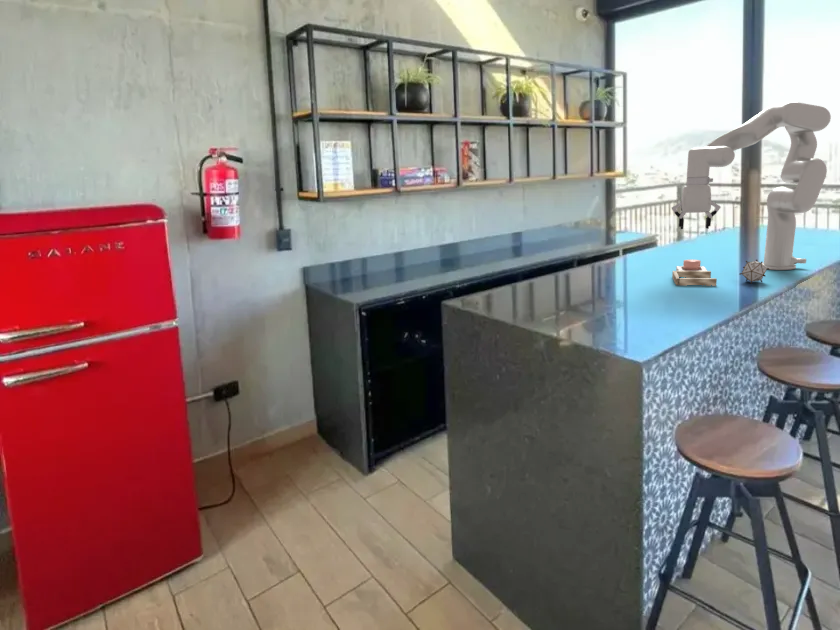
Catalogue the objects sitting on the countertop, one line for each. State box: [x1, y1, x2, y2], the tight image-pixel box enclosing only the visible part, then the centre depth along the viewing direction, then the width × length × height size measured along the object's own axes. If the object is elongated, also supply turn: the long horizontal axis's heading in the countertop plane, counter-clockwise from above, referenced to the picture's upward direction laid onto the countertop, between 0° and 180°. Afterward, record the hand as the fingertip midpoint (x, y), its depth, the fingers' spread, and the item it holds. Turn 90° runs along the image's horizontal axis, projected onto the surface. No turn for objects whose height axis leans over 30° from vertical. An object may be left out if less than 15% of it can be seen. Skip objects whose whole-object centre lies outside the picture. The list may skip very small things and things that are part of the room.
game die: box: [739, 259, 770, 284], centre depth 208 cm, size 9×8×10 cm
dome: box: [682, 259, 702, 270], centre depth 226 cm, size 6×6×3 cm
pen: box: [671, 270, 718, 287], centre depth 215 cm, size 13×15×2 cm
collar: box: [675, 265, 708, 271], centre depth 226 cm, size 10×10×2 cm
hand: (694, 228), depth 222 cm, fingers open, 8 cm apart
